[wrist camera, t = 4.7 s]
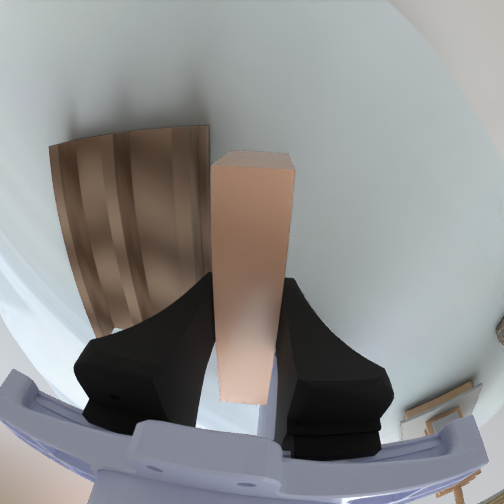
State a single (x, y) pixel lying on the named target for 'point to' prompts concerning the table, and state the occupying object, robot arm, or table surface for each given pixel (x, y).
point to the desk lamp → (436, 417)
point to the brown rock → (501, 332)
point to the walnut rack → (134, 219)
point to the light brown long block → (249, 266)
